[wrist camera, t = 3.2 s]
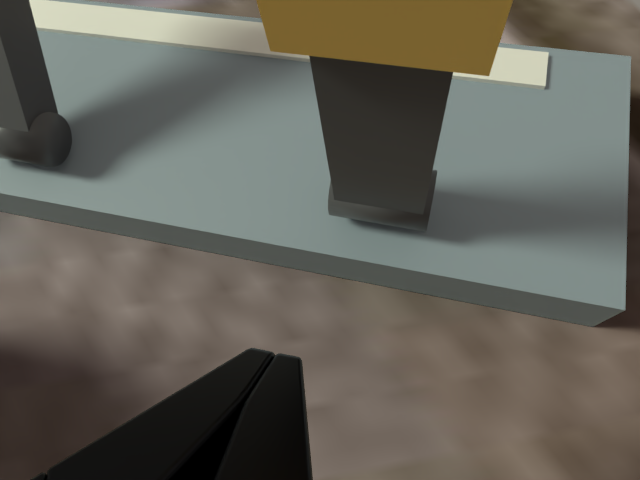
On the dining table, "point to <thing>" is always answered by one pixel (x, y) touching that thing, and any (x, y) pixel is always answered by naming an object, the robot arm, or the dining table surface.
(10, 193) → the switch panel
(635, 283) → the dining table surface
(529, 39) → the dining table surface
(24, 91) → the on lever
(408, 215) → the lever
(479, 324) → the dining table surface
